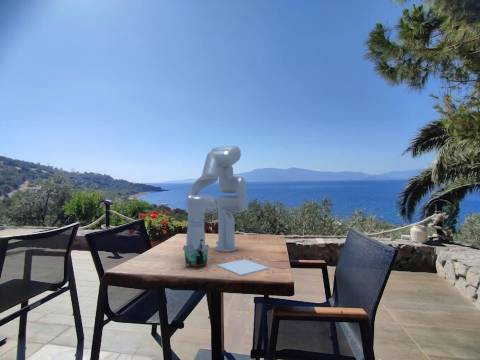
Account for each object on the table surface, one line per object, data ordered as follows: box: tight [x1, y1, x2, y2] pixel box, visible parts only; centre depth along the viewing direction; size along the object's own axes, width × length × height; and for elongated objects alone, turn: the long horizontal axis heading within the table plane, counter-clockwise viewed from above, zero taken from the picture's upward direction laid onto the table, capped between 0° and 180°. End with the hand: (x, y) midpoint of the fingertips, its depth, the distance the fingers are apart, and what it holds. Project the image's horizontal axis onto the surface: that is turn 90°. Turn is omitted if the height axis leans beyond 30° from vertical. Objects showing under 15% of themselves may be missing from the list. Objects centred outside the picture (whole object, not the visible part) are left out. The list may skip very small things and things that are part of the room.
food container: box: [182, 243, 210, 269], centre depth 128 cm, size 12×6×10 cm, turn 110°
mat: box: [216, 259, 270, 277], centre depth 127 cm, size 18×16×1 cm
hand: (196, 262), depth 129 cm, fingers closed on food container, 5 cm apart
